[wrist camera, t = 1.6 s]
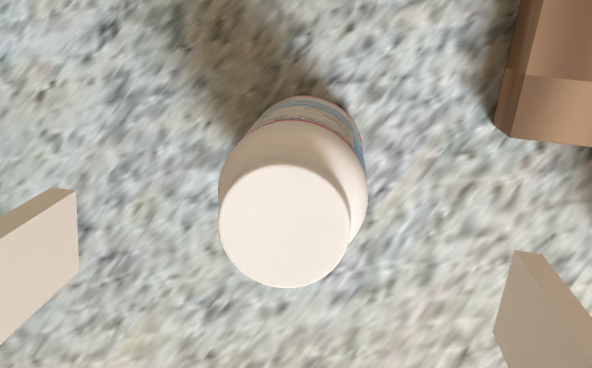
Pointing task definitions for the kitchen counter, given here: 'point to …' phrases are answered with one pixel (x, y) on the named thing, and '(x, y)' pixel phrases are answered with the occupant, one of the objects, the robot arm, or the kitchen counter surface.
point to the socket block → (549, 74)
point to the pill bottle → (293, 193)
